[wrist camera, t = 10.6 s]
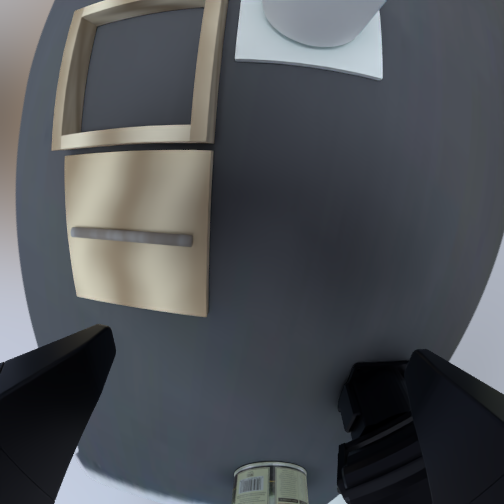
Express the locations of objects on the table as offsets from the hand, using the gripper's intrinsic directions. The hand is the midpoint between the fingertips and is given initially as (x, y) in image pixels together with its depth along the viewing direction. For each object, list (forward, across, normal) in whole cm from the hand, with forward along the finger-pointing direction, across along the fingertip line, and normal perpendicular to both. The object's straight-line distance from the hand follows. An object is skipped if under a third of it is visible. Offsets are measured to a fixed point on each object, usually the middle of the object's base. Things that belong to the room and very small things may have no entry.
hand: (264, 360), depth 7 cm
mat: (+13, -2, -17) cm, 22 cm away
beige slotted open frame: (+13, +10, -6) cm, 17 cm away
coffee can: (+13, -4, +34) cm, 37 cm away
